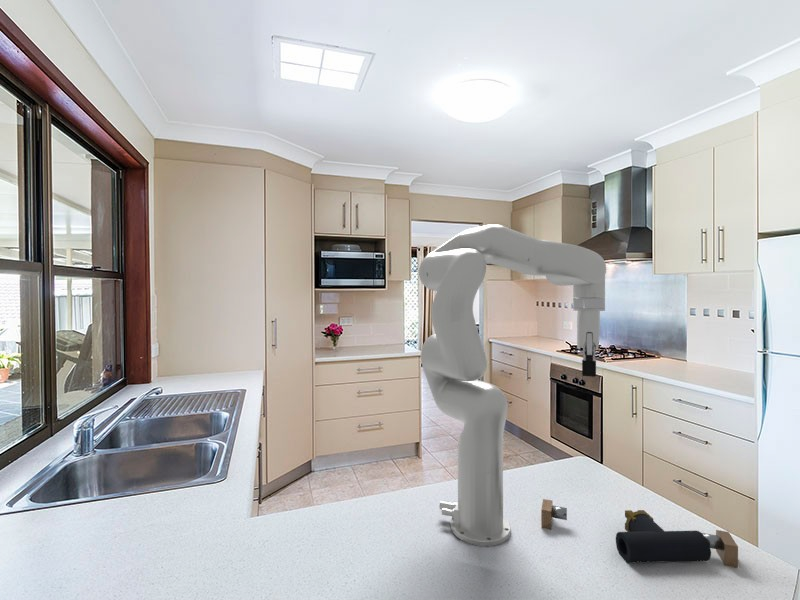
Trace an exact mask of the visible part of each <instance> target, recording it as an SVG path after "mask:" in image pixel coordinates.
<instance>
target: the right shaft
mask: <svg viewBox="0 0 800 600" xmlns="http://www.w3.org/2000/svg"><path fill="white" fill-rule="evenodd" d="M701 533H702V534H703V535H704V536H705V538H706V539H707V541H708V543H709V546H710V549H711V550H712V549H714V550H715V551H716V553H717V554H718V557H719V558H720V560H721V562H722V564H723V565H724V566H725V567H729V568H733V569H739V546H738V544H737V543H736V541H735V540H734V538H733V537H732V535H731V533H730V532H729V531H726V530H718V529H715V534H711V533H705V532H701Z"/></svg>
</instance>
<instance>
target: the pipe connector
mask: <svg viewBox="0 0 800 600" xmlns="http://www.w3.org/2000/svg"><path fill="white" fill-rule="evenodd" d="M624 518H626V521H625V523H624V530H625V531H618V532H617V533H616V535H615V545H616V546H615V547H616V549H617V552H618V553H617V554H618V555H619V556H620V558H622V559H623V561H624V562H625V563H672V562H673V563H677V562H679V563H680V562H684V563H685V562H689V563H691V562H709V561H710V559H711V557H712V548H710V546H709V543H708V541H707V539H706V538H705V536H704V535H703V534H702V533H703V532H701V531H699V530H664V529H663V528H662V527H660V525H659V524H657V522H656V521H654V518H653V517H652V516H651V515H650V514H649V513H648V512H646V511H645V510H644V509H639V510H638V509H637V510H635V511H633V510H631V509H630V510H629V509H628V510H626V509H625V510H624Z"/></svg>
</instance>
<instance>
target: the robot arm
mask: <svg viewBox="0 0 800 600" xmlns="http://www.w3.org/2000/svg"><path fill="white" fill-rule="evenodd" d="M489 264H490V265H493V266H497V267H500V268H503V269H507V270H511V271H514V272H517V273H521V274H523V275H530V276H544V277H545V278H546V280H547V281H548V282H549V283H550V284H552V285H555V286H565V287H566V286H573V287H572V292H573V293H572V297H573V298H572V299H573V301H572V302H573V303H572V304H573V305H572V307H573V308H572V309H573V310H572V311H576V312H577V316H576V347H577V349H578V350H581V348H582V356H583V357H582V359H581V372H582V373H581V374H582V376H583V377H594V378H595V377H596V376H597V360H596V351H597V350H599V344H600V332H601V329H600V328H601V326H600V325H601V312H605V311H606V274H607V265H606V262H605V260H604V258H603V257H602V256H601V255H600V254H599V253H598V252H596V251H593V250H592V249H588V248H586V247H584V246H580V245H576V244H571V243H566V242H557V241H552V240H546V239H539V238H536V237H532V236H530V235H527V234H525V233H522V232H520V231H517V230H514V229H513V228H510V227H507V226H505V225H501V224H486V225H482V226H477V227H472V228H468V229H465V230H463V231H461V232H460V233H458V234H456V235H455V236H454V237H452V238H451V239H448V241H446V242H445V243H443V244H442V245H440V246H438V247H437V248H435V249H434V250H432V251H431V252H430V253H428V254H426V256H425V257H423V259H422V261H421V263H420V264H419V267H418V277H419V280H420V282H421V284H422V285H423V286H424V287H425V288H427V289H428V290H430V291H435V292H436V293H435V295H434V297H433V301H432V305H431V311H430V316H431V317H430V318H431V323H432V326H433V330H434V334H431V335H430V336H428V337H427V338H426V339H425V341H424V342H423V344H422V346H421V347H422V348H421V349H420V361H421V367H422V369H423V372H424V375H425V378H426V380H427V383H428V386H429V387H428V388H429V389H430V392H431V394H432V397H433V401H434V402H435V404H436V406H437V409H439V411H441V413H443V414H445V415H446V416H449V417H451V418H452V419H455V420H458V421H459V422H461V423H463V424H464V426H463V430H462V432H461V434H460V435H459V438H458V442H457V501H454V502H451V501H448V500H442V499H440V501H439V506H438V507H439V510H441V515H443V516H446V517H447V516H449V517H451V520H450V529H451V532H452V533H453V535H455V537H456V538H458V539H460V540H461V541H463V542H464V543H467V544H470V545H475V546H479V547H480V546H481V547H491V546H498V545H500V544H503V543H505V542H506V541H508V539H509V538H510V537H511V534H512V533H511V531H512V529H511V524H510V521H508V520H507V519H506V518H505V517H504V433H505V427H506V420H507V418H508V417H507V416H508V408H509V405H508V399H507V397H506V395H505V394H504V392H503V390H501V389H500V388H499V387H498V386H496V385H494V384H493V383H489V382H486V381H483V380H479V379H481V378H482V377H483V376H485V373H486V371H487V367H488V364H487V363H488V362H487V356H486V351H485V349H484V345H483V343H482V339H481V336H480V334H479V331H478V327H477V324H476V319H475V317H474V310H473V309H474V308H473V307H474V302H475V298H476V295H477V292H478V291H479V289H480V287H481V285H482V283H483V281H484V279H485V277H486V273H487V265H489Z"/></svg>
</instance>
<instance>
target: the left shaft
mask: <svg viewBox="0 0 800 600" xmlns="http://www.w3.org/2000/svg"><path fill="white" fill-rule="evenodd" d="M553 502H554V501H553V500H551V499H545V498H543V499H542V504H541V509H540V510H541V513H540V514H541V519H540V520H541V521H540V522H541V524H540V525H541V529H544V530H549V531H551V530H552V529H553V528H552V527H553V519H558V520H562V521H567V519H568V508H567V507H564V506H557V505H553Z"/></svg>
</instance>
